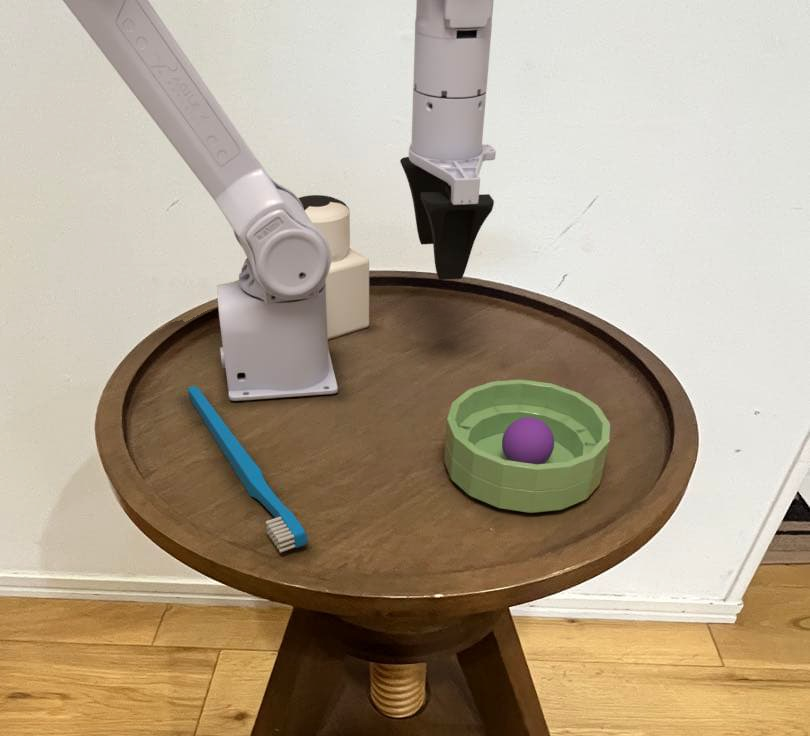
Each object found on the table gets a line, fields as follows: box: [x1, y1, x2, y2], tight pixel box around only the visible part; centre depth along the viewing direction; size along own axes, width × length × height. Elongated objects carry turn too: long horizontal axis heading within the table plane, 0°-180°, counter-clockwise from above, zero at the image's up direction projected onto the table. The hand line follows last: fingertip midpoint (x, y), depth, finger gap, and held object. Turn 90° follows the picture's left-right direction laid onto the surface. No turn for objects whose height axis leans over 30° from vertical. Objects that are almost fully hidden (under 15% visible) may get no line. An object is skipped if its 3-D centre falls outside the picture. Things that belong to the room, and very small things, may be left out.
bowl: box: [443, 378, 611, 514], centre depth 66 cm, size 12×12×4 cm
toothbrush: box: [187, 385, 308, 554], centre depth 66 cm, size 23×2×2 cm
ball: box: [502, 417, 554, 464], centre depth 66 cm, size 4×4×4 cm
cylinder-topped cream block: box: [298, 194, 370, 341], centre depth 81 cm, size 7×7×12 cm
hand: (440, 259), depth 75 cm, fingers open, 7 cm apart
